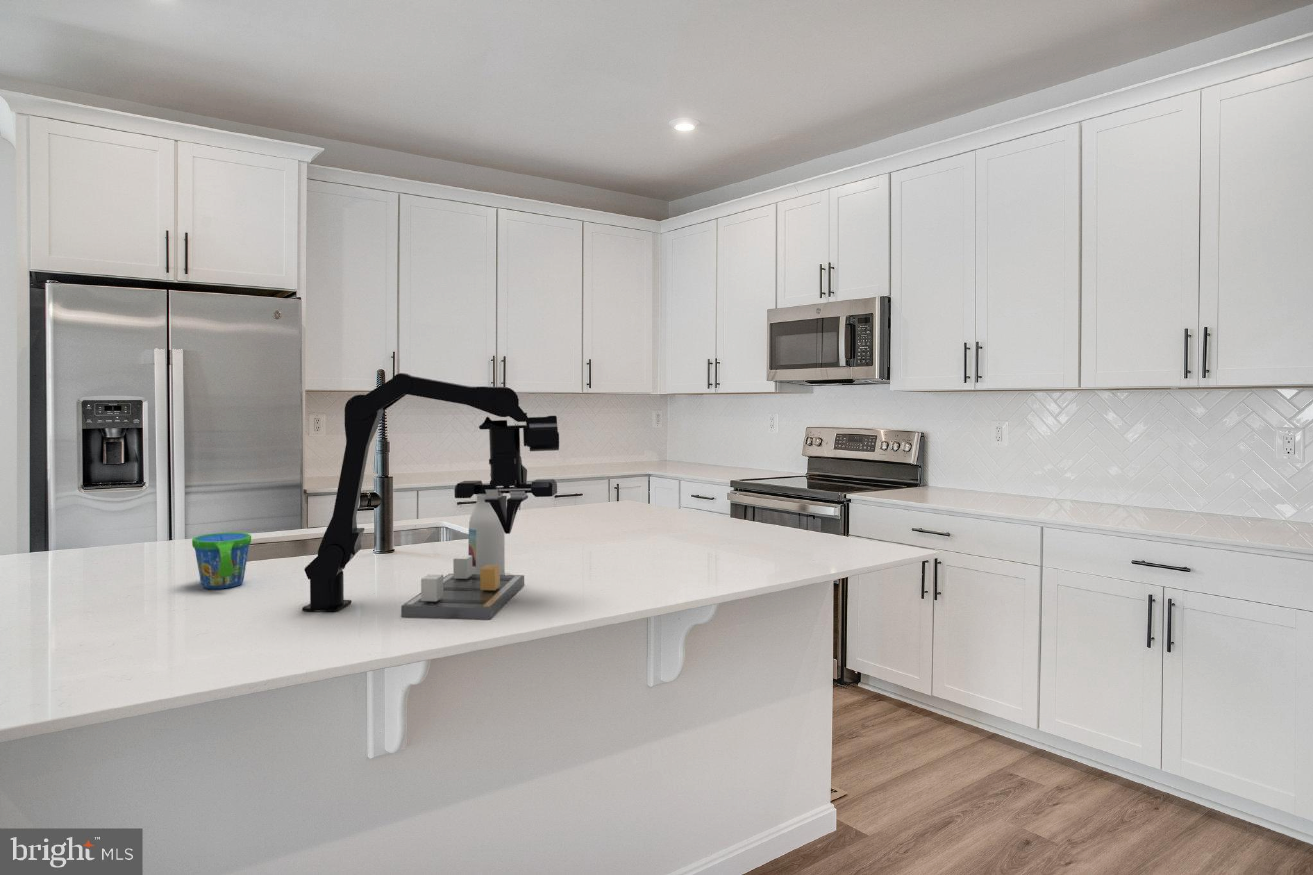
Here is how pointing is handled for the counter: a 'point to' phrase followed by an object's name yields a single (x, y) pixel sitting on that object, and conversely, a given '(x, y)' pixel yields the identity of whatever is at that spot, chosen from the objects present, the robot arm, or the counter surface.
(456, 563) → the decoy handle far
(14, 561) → the counter surface
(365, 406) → the robot arm
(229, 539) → the snack cup
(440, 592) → the grey small block
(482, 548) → the milk bottle
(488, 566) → the orange block
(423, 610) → the panel
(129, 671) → the counter surface
